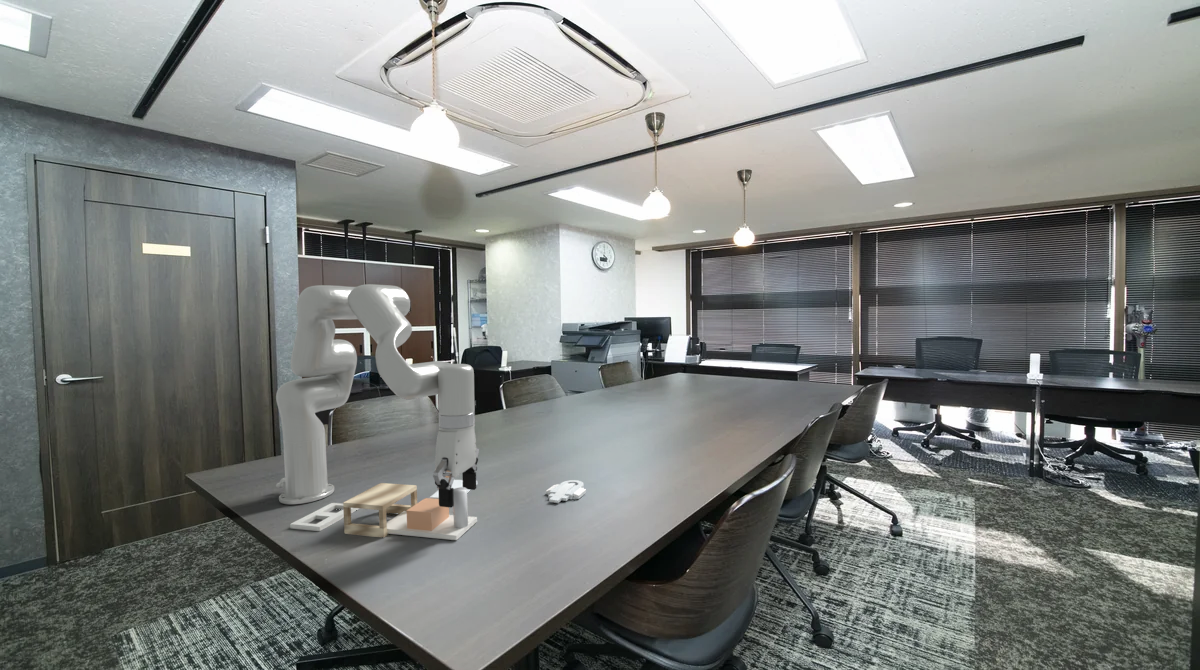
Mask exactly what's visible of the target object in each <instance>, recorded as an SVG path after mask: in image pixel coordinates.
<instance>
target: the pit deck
mask: <svg viewBox="0 0 1200 670" xmlns="http://www.w3.org/2000/svg"><path fill="white" fill-rule="evenodd" d="M336 509H337V510H336ZM339 509H340V510H341V509H343V503H340V502H331V503H329V504H327V505H325V506H323V507H321V508H319V509H317V510H315V511H312V512H311V513H309V514H307V515H305V516H304V517H303V516H302V517H301V518H299V519H297V520H295V521H293V522H292V523H290V524H289V525H290V527H289V528H290V529H294V530H305V531H315V532H321V531H323V530H325V529H326V528H328V527H330V526H331V525H333V524H335V523H337V522H339V521H340V520H343V519H344V510H341V511H340V510H339ZM359 509H360V508H351V514H353V513H355V512H356V510H357V511H359Z"/></svg>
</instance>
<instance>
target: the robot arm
mask: <svg viewBox="0 0 1200 670" xmlns="http://www.w3.org/2000/svg"><path fill="white" fill-rule="evenodd" d="M297 298H298V299H297V301H296V311H297V312H296V313H297V325H296V326H297V327H296V331H295V336H294V337H295V338H294V341H293V347H292V352H291V357H290V369H291V371H292V372H293V373H292V374H294V375H295V376H297V377H301V378H297V379H293V380H290V381H287V382H284V383H283V384H281V386H280V387H278V389H277V390H276V396H275V399H276V405H277V408H278V413H279V417H280V421H281V422H280V423H281V429H282V442H283V443H282V444H283V461H284V477H282V478H281V479H280V480H279V482H277V483H276V484H275V486H276V487H275V488H279V489H281V488H282V493H281V494H280V495H279V496H278V500H279V503H281V504H284V505H301V504H307V503H313V502H315V501H318V500H319V501H320V500H322V499H324V498H327V497H329V496H330V495H332V494H333V493H334V492H335V485H333V484H331V483H328V468H327V467H328V466H327V446H326V428H325V426H324V423H323V422H322V421H321V419H320V418H319V417H318V416H317V415H316V413H319V412H323V411H327V410H333V409H336V408H341V407H343V406H345V404H346V403H347V401H348V400H349V397H350V395H351V390H352V387H353V386H352V385H353V382H354V377H355V373H356V369H357V363H358V355H357V351H356V348H355V346H354V345H353V343H351V342H350V341H348V340H345V339H335V334H336V325H335V323H334V320H358V321H359V323H361V325H362V326H363V327H364V329H365V330H366V331H367V332H368V334H369V335H370V336H371V338H373V340H374V342H375V343H376V344H377V346H376V350H375V364H376V368H377V372H378V374H379V376H380V377H381V378H382V380H383V381H384V383H385V384H386V386H387V387H388V389H390V390H391V391H392V393H394V394H395V395H396V396H397V397H398V398H401V399H403V400H412V401H413V400H416V399H421V398H426V397H431V396H436V395H438V431H437V436H436V443H435V457H434V468H435V469H434V471H433V472H432V477H433V480H434V484H435V486H436V488H437V489H438V490H439V506H441V507H449V509H450V508H452V509H453V506H454V488H451V487H452V484H453V481H454V480H455V478H456V477H458V476H460V475H461V474H462V476H461V477H462V480H463V487H465V488H467V489H470V490H471V491H475V490H476V489H477V485H476V481H477V472H478V471H477V470H478V467H477V465H478V462H479V458H478V457H479V453H480V448H478V447H477V440H476V432H475V431H476V430H475V426H476V423H475V422H476V419H475V418H476V414H475V413H476V412H475V409H476V408H475V407H476V406H475V373H474V372H475V371H474V367H472V366H471V365H470V364H468V363H467V364H466V363H451V362H447V361H444V360H443V361H442V360H435V361H434V360H433V361H427V362H419V363H412V364H410V363H408V362H407V360H406V359H405V358H404V357H403V356H402V355H401V353H400V352H399V351H398V348H399V347H400V346H402V345H403V344H405V343H406V341H407V340H408V339H409V338H410V337H411V334H412V332H413V327H412V323H410V321H409V320H408V319H407V318H406V316H407V315H408V313H409V312H410V310H411V299H410V297H409V295H408V293H407V292H406V291H405V289H403V288H401V287H400V286H397V285H391V284H388V285H387V284H377V283H375V284H372V283H369V284H368V283H367V284H361V285H358V286H345V285H333V284H332V285H331V284H330V285H329V284H328V285H326V284H325V285H322V284H319V285H311V286H308V287H305V288H304V289H303V290H302V291H301V292H300V294H299V296H298V297H297ZM446 478H447V479H448V481H447V480H446Z"/></svg>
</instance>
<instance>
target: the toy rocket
mask: <svg viewBox="0 0 1200 670" xmlns="http://www.w3.org/2000/svg"><path fill="white" fill-rule="evenodd" d="M584 486H585V485H584V481H582V480H578V479H571V480H570V479H569V480H565V481H564V480H563V481H562V482H560V483H557V484H553V485H552V486H551V487H548V489H546V490H545V494H546V495H547V496H548V501H549V503H555V504H559V503H560V502H561V501H565V502H566V501H568V500H579V499H581V498H582V497H583V496H584V495H586V493H587V489H586V488H584Z"/></svg>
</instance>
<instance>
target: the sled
mask: <svg viewBox="0 0 1200 670" xmlns="http://www.w3.org/2000/svg"><path fill="white" fill-rule="evenodd" d="M452 510H453V511H452V513H453V514H450V507H441V506H439V499H432V498H429V497H425V498H423V499H422V500H420V501H418V502H417V504H416V505H414V506H413V507H411V508H410V509H408V510H407V511H404V512H402V513H401V514H396V516H394V517H393V518H391V519H389V520H388V521H387V535H389V534H390V535H400V536H401V535H402V536H409V537H410V536H411V537H419V538H420V537H421V538H430V539H440V540H451V541H458V540H459V539H460V538H461V537H462V536H463V535H464V534H465V533H466V532H467V531H468V530H469V529H471V528H472V527H473V526H474V525H475V524H476V523H478V516H470V515H469V513H468V512H469V511H468V494H467V488H465V487H459V488H455V489H454V506H453V507H452Z"/></svg>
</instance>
